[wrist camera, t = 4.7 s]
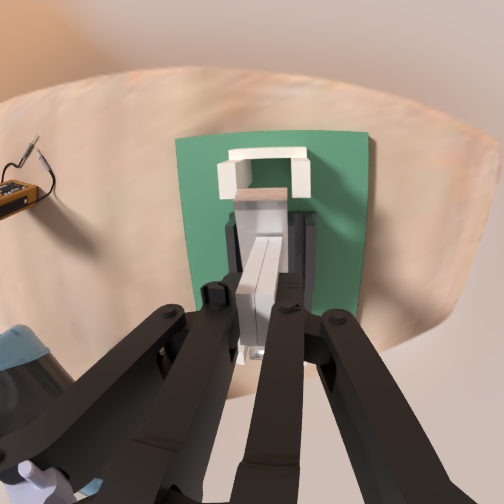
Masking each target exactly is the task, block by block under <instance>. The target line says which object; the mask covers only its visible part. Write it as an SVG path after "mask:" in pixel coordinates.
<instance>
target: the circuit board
mask: <svg viewBox="0 0 504 504" xmlns="http://www.w3.org/2000/svg"><path fill="white" fill-rule="evenodd" d="M175 143H176V156H177V167H178V178H179V188H180V197H181V206H182V215H183V223H184V231H185V239H186V246H187V253H188V260H189V267H190V273H191V280H192V286H193V292H194V298H195V304H196V310H197V311H199V310H200V309H201V307H202V306H203V303H202V297H201V291H200V288H201V287H202V286H203V285H204V284H206V283H209V282H213V281H222V279H223V277H224V276H226V275H227V274H228V273H229V268H228V258H227V246H226V235H225V225H226V224H227V223H228V221H229V214H230V213H231V212H235V211H234V203H233V201H234V198H235V195H236V192H237V189H245V188H287V211H316V213H317V223H316V261H315V283H314V292H313V296H312V314H315V315H319V316H322V314H323V313H324V312H325V311H327V310H330V309H344V310H347V311H349V312H350V313H351V314H353V315H354V317H356V311H357V304H358V298H359V290H360V283H361V274H362V266H363V256H364V245H365V233H366V219H367V201H368V161H369V152H368V133H367V132H351V131H323V130H284V131H256V132H239V133H226V134H214V135H204V136H195V137H187V138H179V139H175ZM247 350H248V346H247V345H240V337H239V341H238V356H237V360H236V364H242V365H244V364H245V359H246V355H247ZM306 364H307V362H305V361H304V366H306Z"/></svg>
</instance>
